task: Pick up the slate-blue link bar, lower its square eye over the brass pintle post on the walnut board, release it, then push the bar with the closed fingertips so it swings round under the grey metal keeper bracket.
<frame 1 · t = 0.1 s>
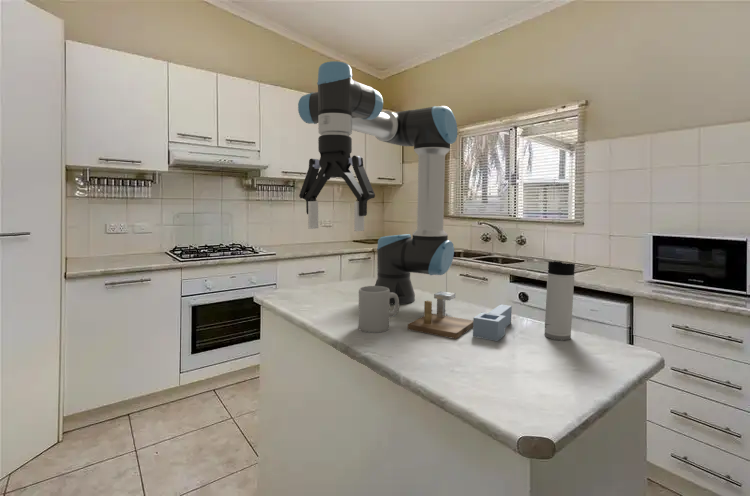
hand: (335, 229, 95), 28 cm above the countertop, fingers open, 13 cm apart
link: (497, 328, 113), on the countertop
travel mug: (557, 337, 107), on the countertop
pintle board: (427, 328, 113), on the countertop
mug: (379, 327, 114), on the countertop
keeper: (444, 324, 117), resting on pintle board
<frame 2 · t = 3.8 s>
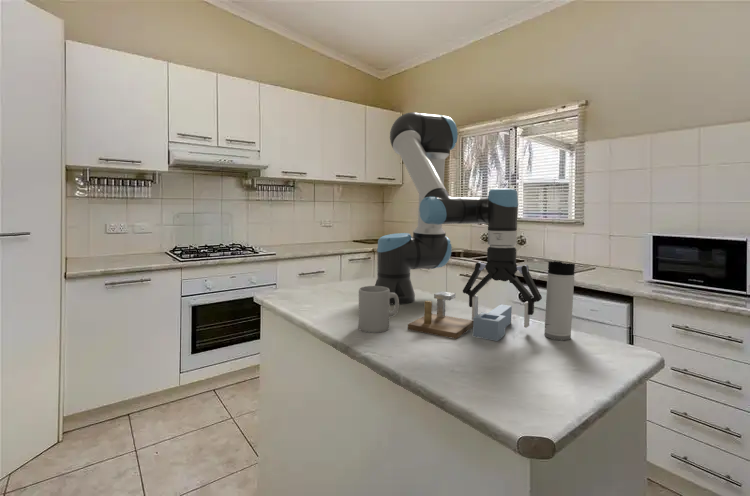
hand: (499, 323, 113), 1 cm above the countertop, fingers open, 13 cm apart
nothing on the countertop moved.
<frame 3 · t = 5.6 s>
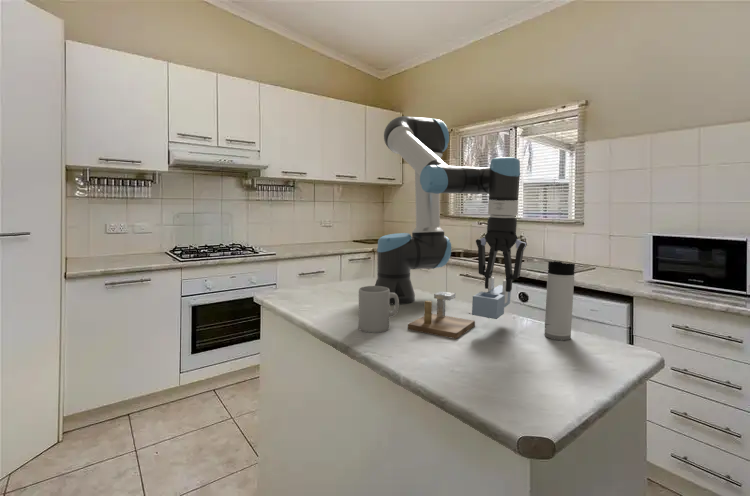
hand: (497, 301, 113), 7 cm above the countertop, fingers closed on link, 3 cm apart
link: (496, 308, 113), point 6 cm above the countertop, touching gripper
everything else where it was.
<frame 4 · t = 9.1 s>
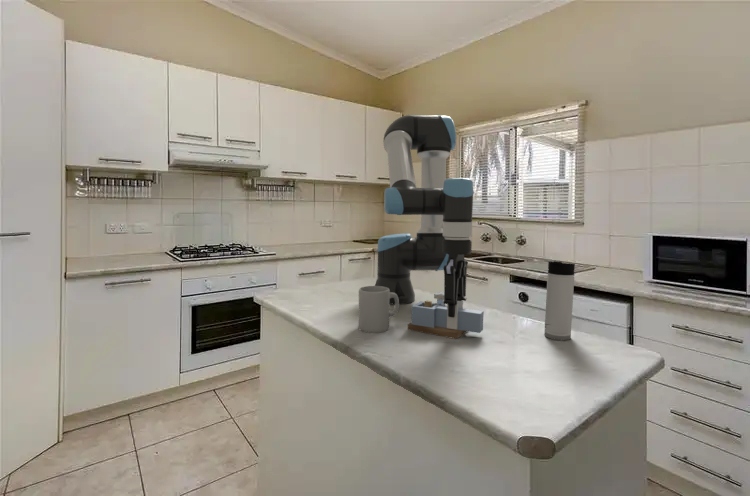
hand: (454, 326, 109), 2 cm above the countertop, fingers closed on link, 4 cm apart
link: (453, 327, 109), point 1 cm above the countertop, touching gripper, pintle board
everything else where it was.
when the fingers open (2 cm above the countertop, at t = 9.1 s): link stays where it is, point 2 cm above the countertop.
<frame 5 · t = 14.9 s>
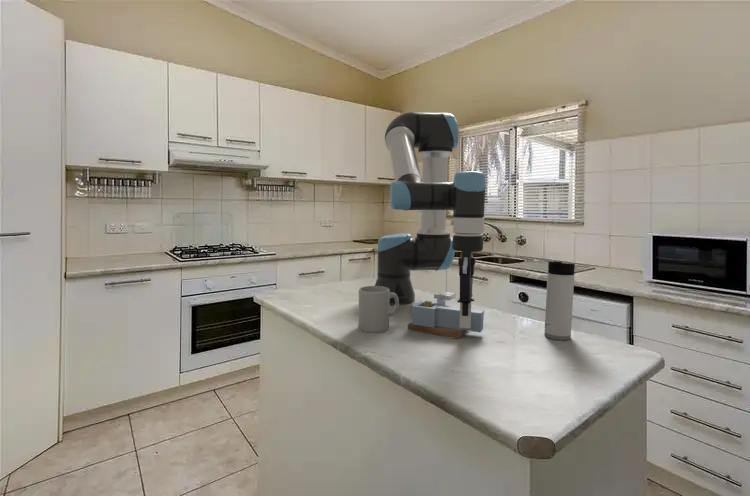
hand: (465, 327, 105), 3 cm above the countertop, fingers closed
link: (453, 326, 110), point 2 cm above the countertop, touching gripper
everything else where it was.
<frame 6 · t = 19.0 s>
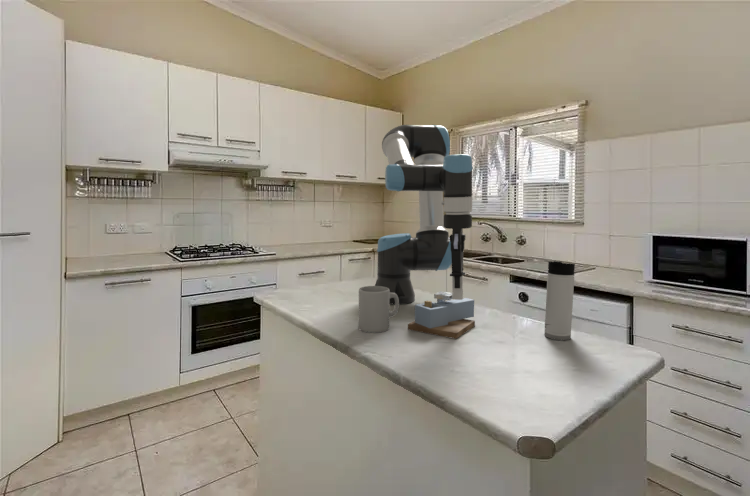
hand: (457, 298, 113), 8 cm above the countertop, fingers closed
link: (451, 319, 117), point 1 cm above the countertop, touching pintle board
everything else where it was.
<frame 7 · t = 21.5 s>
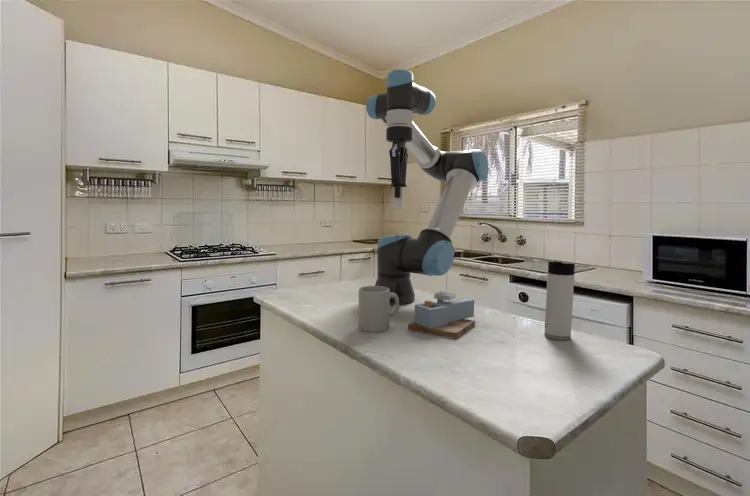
hand: (398, 209, 121), 32 cm above the countertop, fingers closed
nothing on the countertop moved.
at the end: link 0.9 cm from the target spot on the keeper, point 1.5 cm above the keeper's base; link tilted 0°; link touching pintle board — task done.
